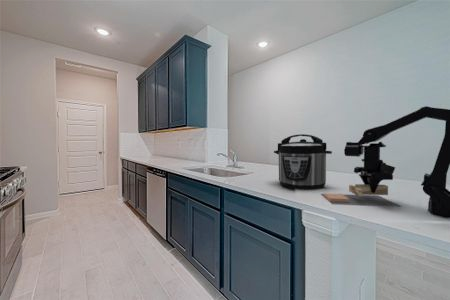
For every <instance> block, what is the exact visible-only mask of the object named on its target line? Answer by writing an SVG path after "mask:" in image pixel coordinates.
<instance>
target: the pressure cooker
mask: <svg viewBox="0 0 450 300" xmlns="http://www.w3.org/2000/svg"><path fill="white" fill-rule="evenodd" d="M296 137H310V138H311V140H312V141H307V139H305V138H303V139H302V138H301V139H300V140H299V141H291V139H292V138H296ZM273 153H274V154H277V155H278V181H279V184H280V185H281V186H282V187H285V188H289V189H291V190H293V189H297V190H319V189H323V188H324V187H325V186H326V181H327V154H329V155H332V153H333V151H332V150H327V142H323V139H321V138H319V137H318V136H315V135H311V134H293V135H290V136H287V137H285V138H283V139H282V140H281V141H280V143H277V150H274V151H273Z"/></svg>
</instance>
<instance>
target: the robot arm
mask: <svg viewBox="0 0 450 300" xmlns="http://www.w3.org/2000/svg"><path fill="white" fill-rule="evenodd" d="M427 118H428V119H432V120H439V121H445V129H444V135H443V139H442V142H441V145H440V148H439V151H438V154H437V157H436V160H435V162H434V167H433V170H432V171H431V172H430V173H429V174H428V173H424V174H423V175H424V176H423V181H422V182H421V184H420V186H422V190H423V192H424V194H426V195H427V196H429V198H428V203H427V204H428V207H427V212H429V214H431V215H433V216H436V217H442V218H443V219H444V218H445V219H450V190H449V189H447V175H448V171H449V169H450V109H448V108H440V107H432V106H426V105H425V106H422V107H420V108H418V109H416V110H415V111H412V112H410V113H408V114H406V115H403V116H401V117H399V118H397V119H395V120H392V121H390V122H388V123H386V124H383V125H379V126H374V127H372V128H368V129H366V130H365V131H364V132H363V134H362V137H361V138H360V139H359V141H357V142H352V141H346V142H345V146H344V149H343V150H344V151H343V152H344V156H345V157H357V158H358V157H359V158H360V157H361V155H363V158H361V162H363V166H355V167H354V169H353V173H355V174H358V176H359V178H360V179H361V181H362V182H363V184H369V186H370V189H371V192H372V193H375V191H376V189H377V187H378V185H380V183H381V182H382V181H385V180H386V181H387V180H388V181H393V180H394V175H393V174H394V172H395V170H396V167H395V166H393V165H389V164H387V163H386V162H384V161H383V159H381V148H386V147H387V145H386V144H384V143H383V141H380V140H382V139H383V138H385V137H386V136H388V135H389V134H391V133H393V132H395V131H397V130H399V129H402V128H404V127H407V126H409V125H411V124H412V125H413V124H414V123H417V122H419V121H422V120H423V119H427ZM378 141H379V142H378ZM376 142H378V143H376ZM368 144H369V145H368ZM359 173H360V174H359Z"/></svg>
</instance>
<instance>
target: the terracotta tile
mask: <svg viewBox="0 0 450 300" xmlns="http://www.w3.org/2000/svg"><path fill="white" fill-rule="evenodd" d="M323 194H324V197H325V198H324V197H323V198H324V199H325V200H327V201H328V200H329V201H330V202H349V198H347V197H346V196H344V195H343V194H344V193H329V192H328V193H325V192H324V193H323ZM329 201H328V202H329ZM330 202H329V203H330Z"/></svg>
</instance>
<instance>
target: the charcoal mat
mask: <svg viewBox="0 0 450 300" xmlns="http://www.w3.org/2000/svg"><path fill="white" fill-rule="evenodd" d="M342 194H343V195H344V196H346V197H347V198H349V202H330V201H329V200H327V201H328V202H329V203H330V204H331V205H338V206H339V205H341V206H342V205H343V206H363V207H364V206H367V207H368V206H369V207H371V206H372V207H393V208H394V207H395V208H396V207H399V208H402V207H403V206H402V205H400V204H398V203H396V202H393V201H391V200H389V199H386V198H385V197H382V195H362V196H357V195H356V194H344V193H342ZM320 195H321V196H322V197H323V198H324V199H326V198H325V197H324V193H320Z"/></svg>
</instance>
